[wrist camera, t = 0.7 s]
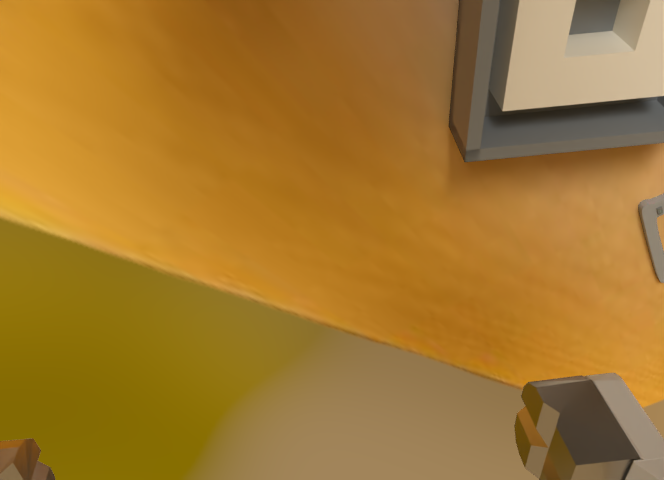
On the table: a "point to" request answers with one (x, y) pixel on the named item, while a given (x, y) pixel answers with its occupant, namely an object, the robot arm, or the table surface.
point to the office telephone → (653, 231)
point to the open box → (556, 76)
